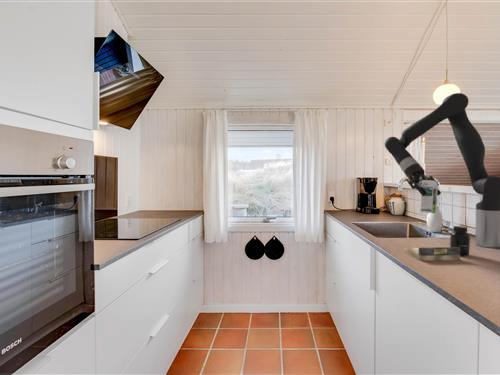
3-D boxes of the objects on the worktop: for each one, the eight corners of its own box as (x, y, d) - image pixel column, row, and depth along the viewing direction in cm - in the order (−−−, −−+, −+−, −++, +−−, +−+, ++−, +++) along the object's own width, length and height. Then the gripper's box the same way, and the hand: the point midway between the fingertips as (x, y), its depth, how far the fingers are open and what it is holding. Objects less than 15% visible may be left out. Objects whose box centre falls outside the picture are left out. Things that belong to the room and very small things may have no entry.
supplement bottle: (461, 257, 118) (461, 228, 117) (445, 253, 124) (446, 225, 124) (473, 255, 119) (474, 227, 119) (457, 251, 126) (458, 224, 125)
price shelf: (440, 251, 126) (440, 240, 126) (460, 260, 114) (460, 247, 113) (404, 252, 126) (404, 241, 126) (420, 260, 114) (420, 248, 114)
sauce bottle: (445, 232, 165) (446, 202, 164) (435, 233, 163) (436, 202, 162) (433, 230, 172) (433, 201, 172) (423, 231, 170) (423, 201, 169)
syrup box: (419, 212, 128) (421, 180, 127) (422, 210, 132) (423, 179, 131) (434, 213, 124) (436, 180, 123) (436, 212, 129) (438, 180, 128)
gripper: (404, 162, 132) (425, 189, 121) (428, 162, 136) (450, 188, 126) (395, 174, 137) (414, 200, 127) (418, 173, 141) (438, 199, 131)
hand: (432, 194), depth 126 cm, fingers closed on syrup box, 7 cm apart
